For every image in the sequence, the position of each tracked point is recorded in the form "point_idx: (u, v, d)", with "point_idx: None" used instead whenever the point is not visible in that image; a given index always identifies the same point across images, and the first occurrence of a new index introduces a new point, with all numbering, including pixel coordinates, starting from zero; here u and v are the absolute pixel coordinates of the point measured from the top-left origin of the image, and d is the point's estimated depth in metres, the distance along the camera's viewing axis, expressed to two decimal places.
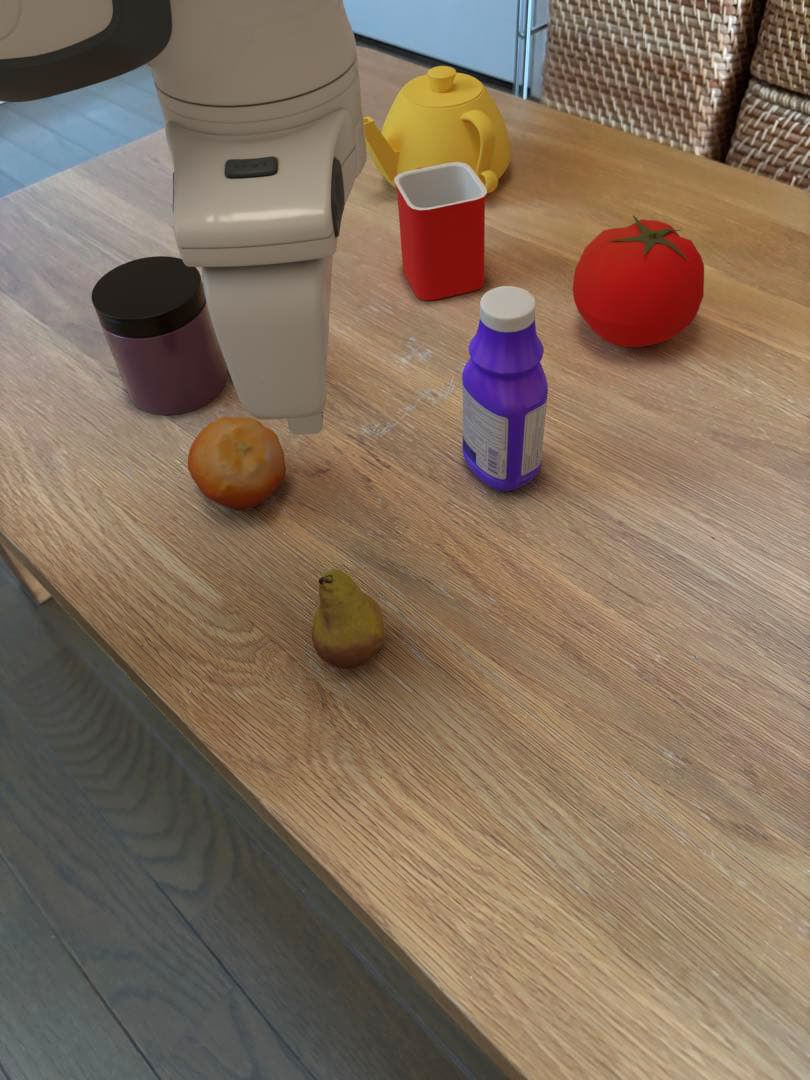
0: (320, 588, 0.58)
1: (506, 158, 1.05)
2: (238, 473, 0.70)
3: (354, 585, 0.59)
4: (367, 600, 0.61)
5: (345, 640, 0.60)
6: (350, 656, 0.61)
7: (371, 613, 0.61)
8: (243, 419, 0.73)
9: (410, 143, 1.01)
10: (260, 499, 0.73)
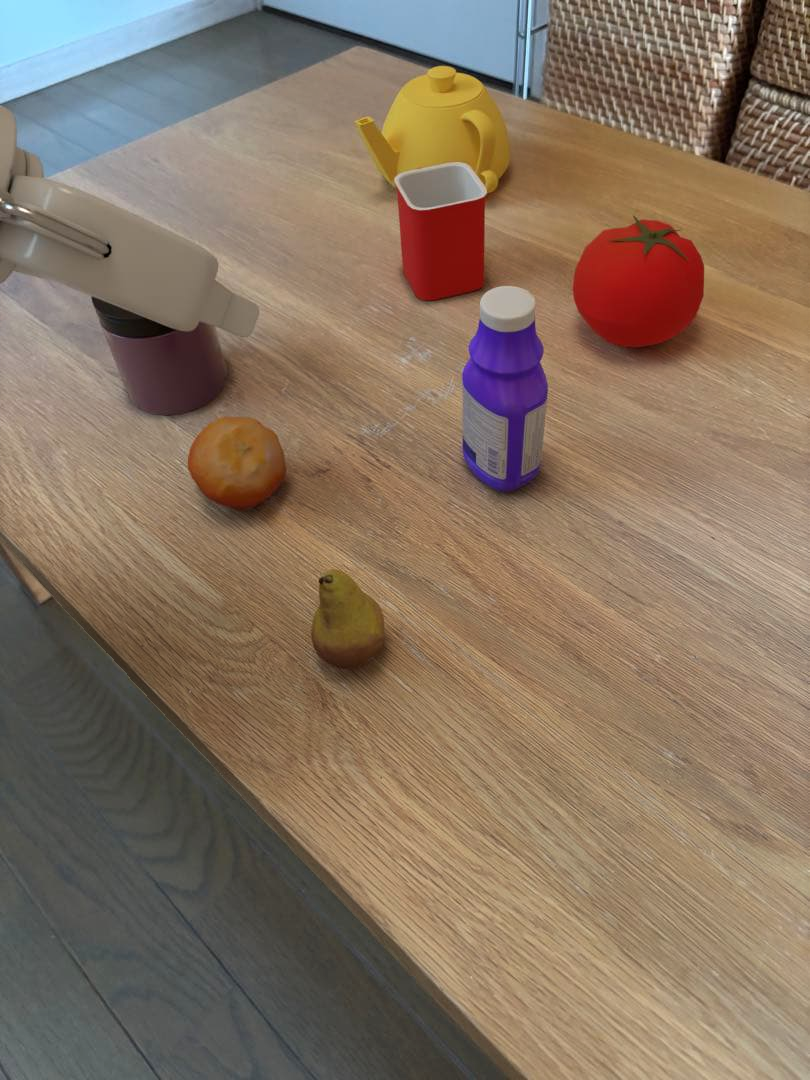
0: (320, 588, 0.58)
1: (506, 158, 1.05)
2: (238, 473, 0.70)
3: (354, 585, 0.59)
4: (367, 600, 0.61)
5: (345, 640, 0.60)
6: (350, 656, 0.61)
7: (371, 613, 0.61)
8: (243, 419, 0.73)
9: (410, 143, 1.01)
10: (260, 499, 0.73)
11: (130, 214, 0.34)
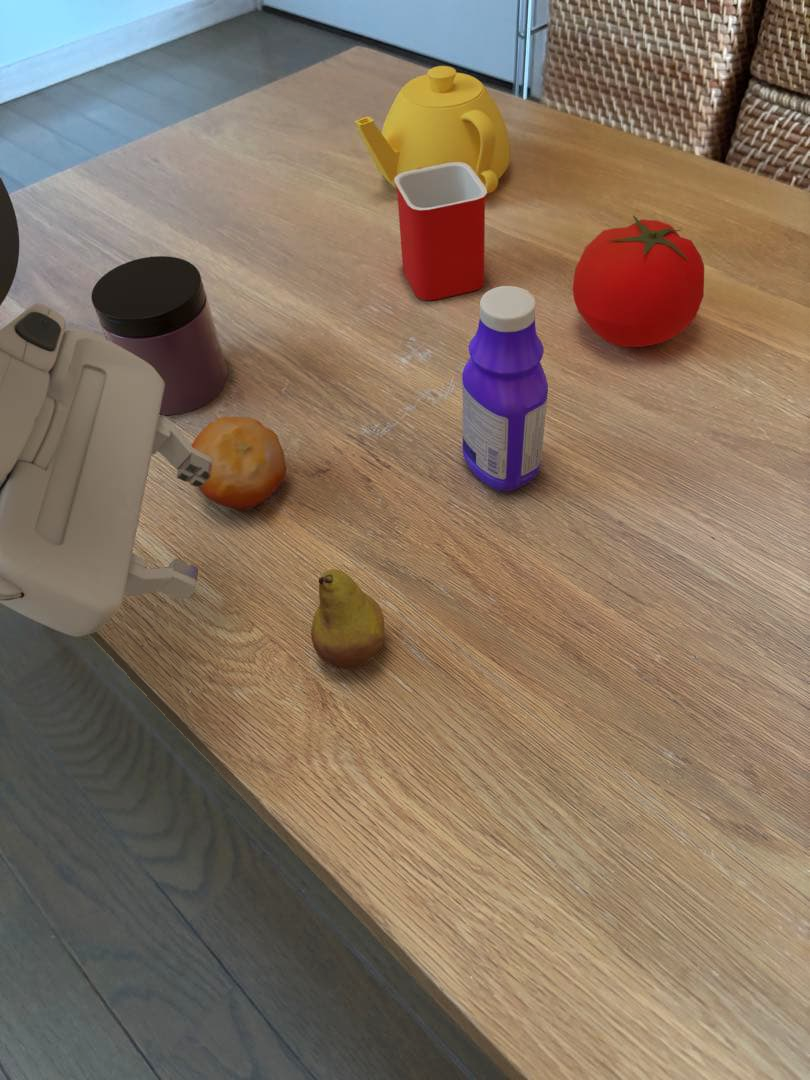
0: (320, 588, 0.58)
1: (506, 158, 1.05)
2: (238, 473, 0.70)
3: (354, 585, 0.59)
4: (367, 600, 0.61)
5: (345, 640, 0.60)
6: (350, 656, 0.61)
7: (371, 613, 0.61)
8: (243, 419, 0.73)
9: (410, 143, 1.01)
10: (260, 499, 0.73)
11: (43, 579, 0.44)
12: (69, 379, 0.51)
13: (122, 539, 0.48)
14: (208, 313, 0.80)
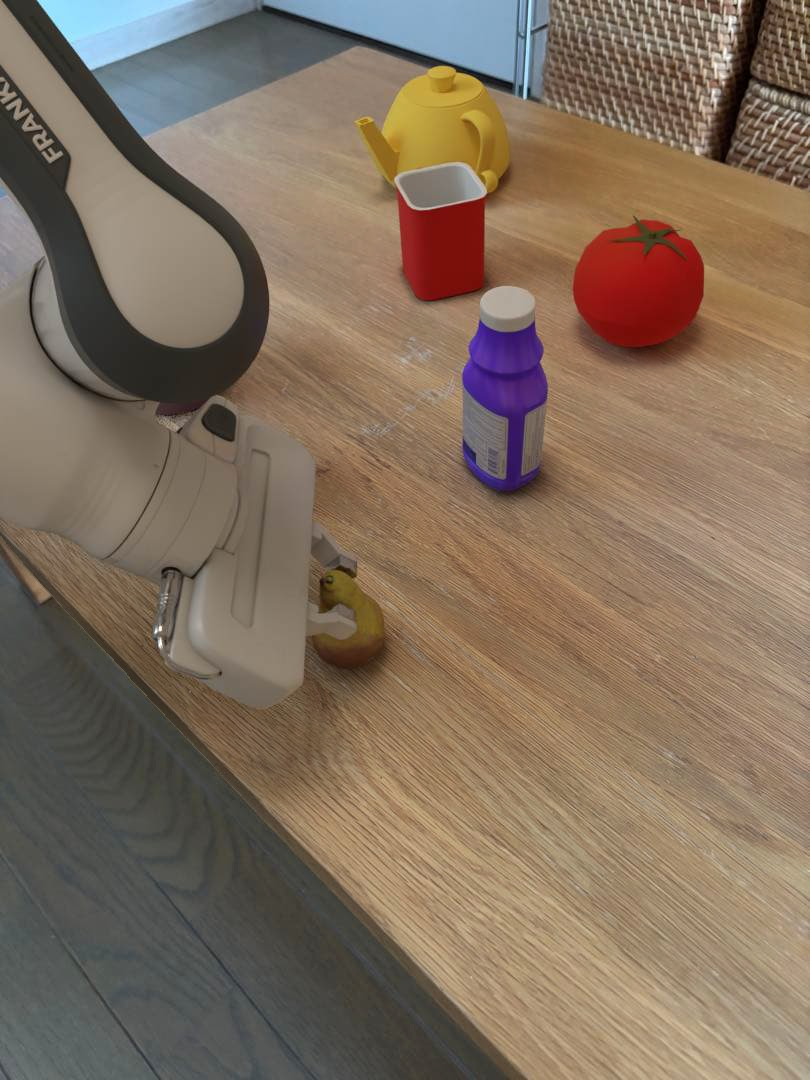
0: (321, 588, 0.58)
1: (506, 158, 1.05)
2: None
3: (355, 585, 0.59)
4: (367, 600, 0.61)
5: (345, 640, 0.60)
6: (351, 656, 0.61)
7: (371, 613, 0.61)
8: None
9: (410, 143, 1.01)
10: None
11: (242, 661, 0.48)
12: (245, 466, 0.56)
13: (298, 618, 0.53)
14: None
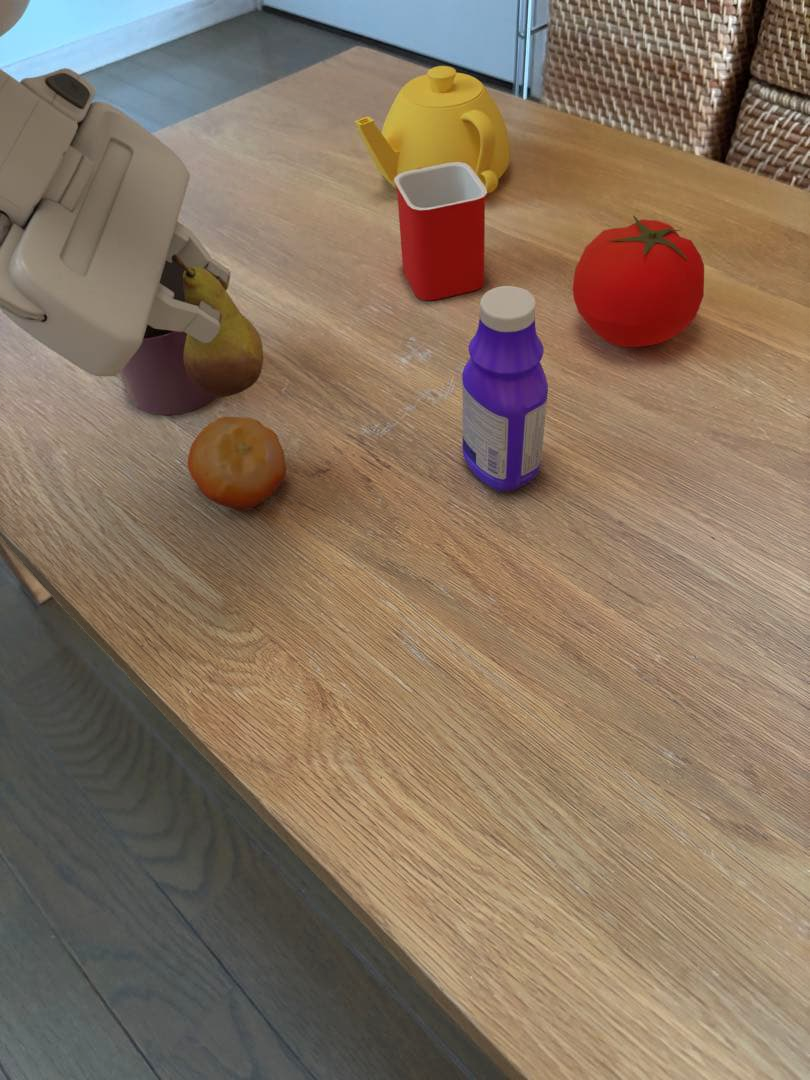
0: (184, 287, 0.54)
1: (506, 158, 1.05)
2: (238, 473, 0.70)
3: (222, 288, 0.55)
4: (240, 314, 0.57)
5: (214, 352, 0.56)
6: (221, 373, 0.57)
7: (243, 328, 0.57)
8: (243, 419, 0.73)
9: (410, 143, 1.01)
10: (260, 499, 0.73)
11: (66, 300, 0.45)
12: (96, 141, 0.52)
13: (144, 287, 0.49)
14: None
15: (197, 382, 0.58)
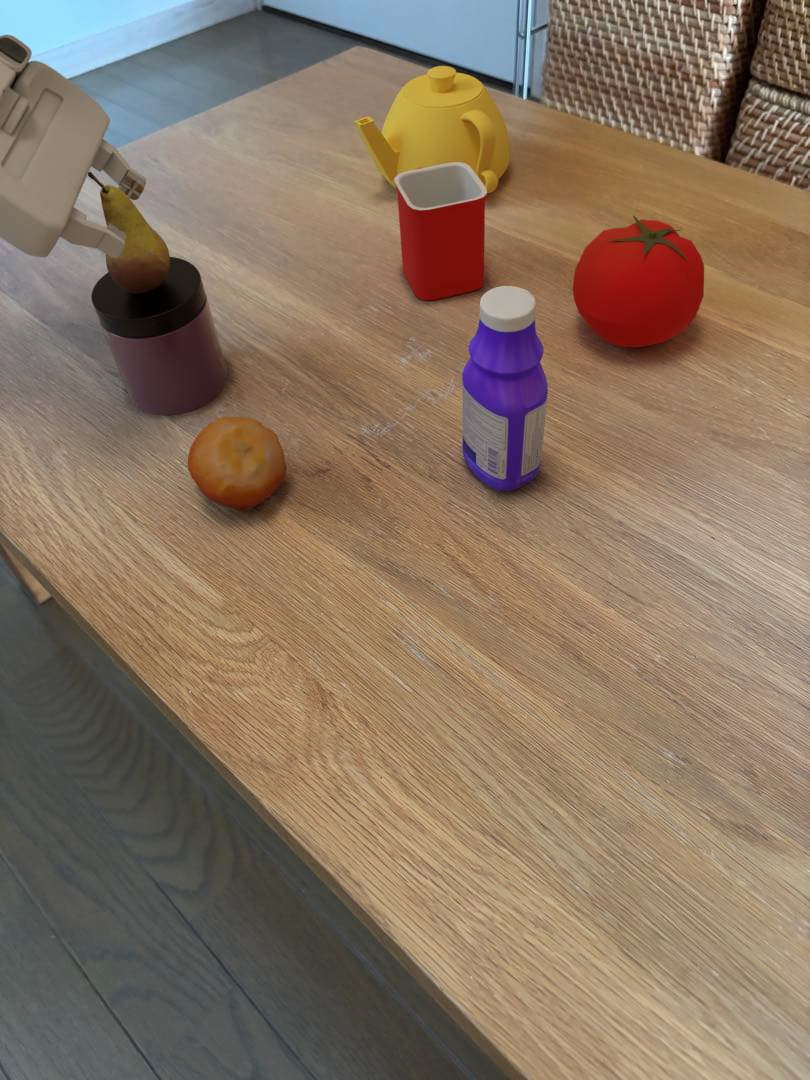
0: None
1: (506, 158, 1.05)
2: (238, 473, 0.70)
3: (131, 203, 0.72)
4: (148, 225, 0.74)
5: (127, 253, 0.73)
6: (134, 270, 0.74)
7: (150, 236, 0.74)
8: (243, 419, 0.73)
9: (410, 143, 1.01)
10: (260, 499, 0.73)
11: (5, 193, 0.61)
12: (32, 88, 0.69)
13: (67, 192, 0.66)
14: (208, 313, 0.80)
15: (117, 279, 0.75)
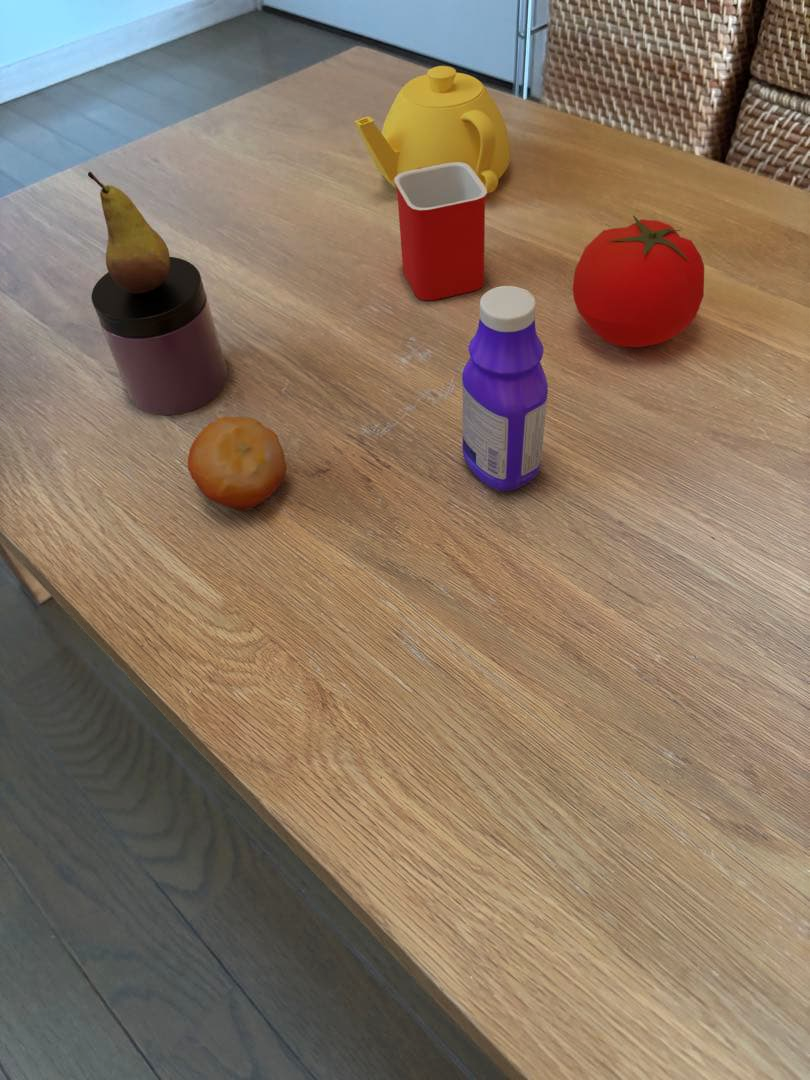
0: None
1: (506, 158, 1.05)
2: (238, 473, 0.70)
3: (131, 203, 0.72)
4: (148, 225, 0.74)
5: (127, 253, 0.73)
6: (134, 270, 0.74)
7: (150, 236, 0.74)
8: (243, 419, 0.73)
9: (410, 143, 1.01)
10: (260, 499, 0.73)
11: None
12: None
13: None
14: (208, 313, 0.80)
15: (117, 279, 0.75)
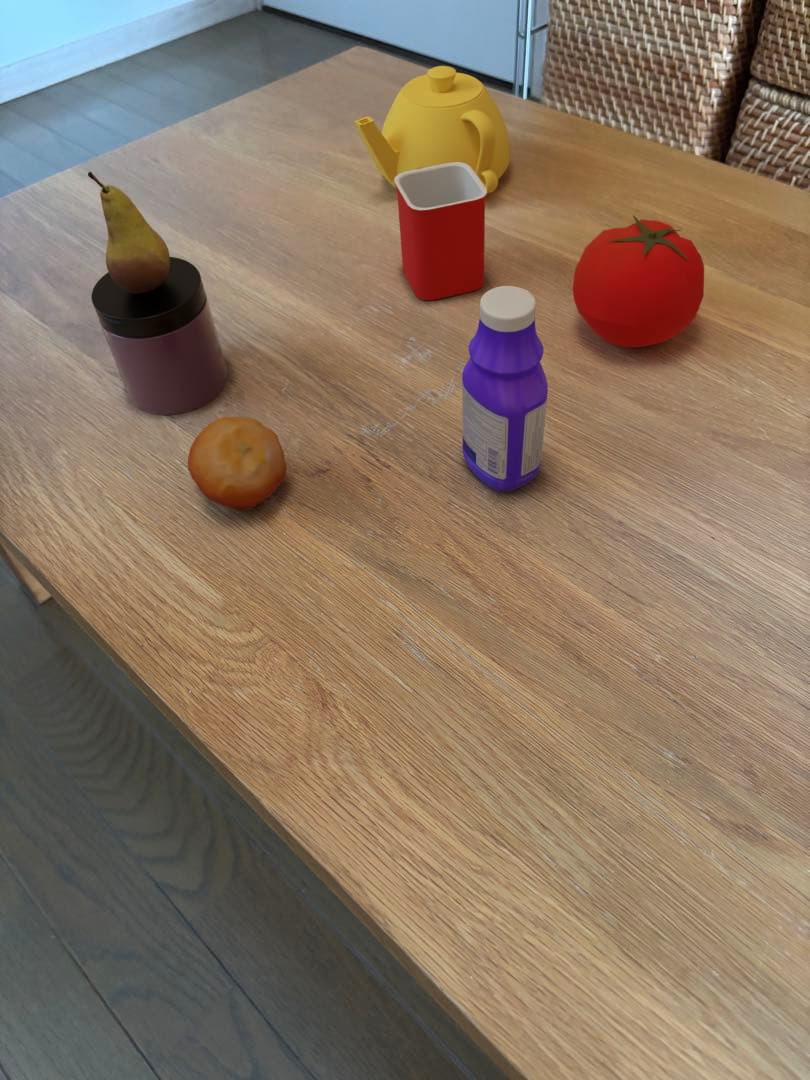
0: None
1: (506, 158, 1.05)
2: (238, 473, 0.70)
3: (131, 203, 0.72)
4: (148, 225, 0.74)
5: (127, 253, 0.73)
6: (134, 270, 0.74)
7: (150, 236, 0.74)
8: (243, 419, 0.73)
9: (410, 143, 1.01)
10: (260, 499, 0.73)
11: None
12: None
13: None
14: (208, 313, 0.80)
15: (117, 279, 0.75)
